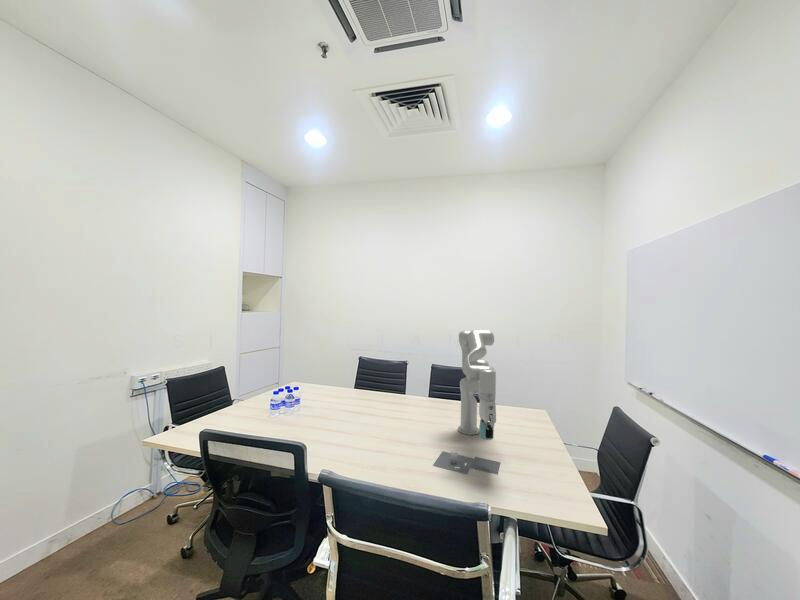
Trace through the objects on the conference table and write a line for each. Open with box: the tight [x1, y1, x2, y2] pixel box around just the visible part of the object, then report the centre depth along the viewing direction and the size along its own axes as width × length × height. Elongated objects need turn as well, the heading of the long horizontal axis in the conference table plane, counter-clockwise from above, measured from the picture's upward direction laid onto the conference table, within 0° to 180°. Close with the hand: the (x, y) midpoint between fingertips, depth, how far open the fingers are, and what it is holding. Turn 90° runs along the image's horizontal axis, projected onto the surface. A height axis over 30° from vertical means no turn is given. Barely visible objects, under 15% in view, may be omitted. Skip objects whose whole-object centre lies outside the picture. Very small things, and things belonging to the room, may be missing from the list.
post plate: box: [432, 450, 475, 475], centre depth 147 cm, size 16×16×5 cm
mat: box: [470, 456, 501, 476], centre depth 144 cm, size 12×12×1 cm
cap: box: [478, 421, 495, 441], centre depth 144 cm, size 6×6×6 cm
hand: (486, 434), depth 144 cm, fingers closed on cap, 6 cm apart
